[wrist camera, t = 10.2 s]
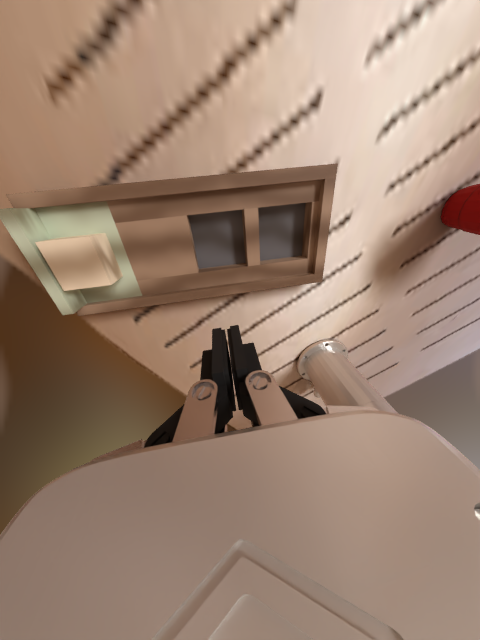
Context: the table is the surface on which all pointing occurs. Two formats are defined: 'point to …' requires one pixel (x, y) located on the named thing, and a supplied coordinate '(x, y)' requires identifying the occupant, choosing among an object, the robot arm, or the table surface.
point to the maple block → (81, 261)
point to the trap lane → (184, 234)
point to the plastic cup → (463, 210)
